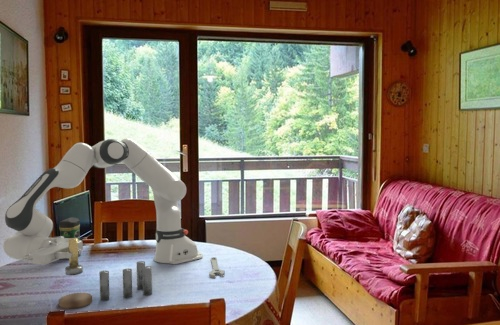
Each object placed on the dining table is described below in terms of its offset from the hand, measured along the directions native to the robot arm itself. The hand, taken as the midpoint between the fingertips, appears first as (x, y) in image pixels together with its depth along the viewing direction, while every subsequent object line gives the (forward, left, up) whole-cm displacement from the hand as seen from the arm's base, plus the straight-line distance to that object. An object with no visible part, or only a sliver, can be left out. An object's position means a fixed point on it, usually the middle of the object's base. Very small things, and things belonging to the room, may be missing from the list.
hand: (75, 253), depth 152 cm
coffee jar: (-2, -61, -18) cm, 63 cm away
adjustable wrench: (-58, -13, -18) cm, 62 cm away
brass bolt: (+1, -1, -7) cm, 7 cm away
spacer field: (-18, 0, -18) cm, 25 cm away
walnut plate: (+1, -1, -18) cm, 18 cm away
